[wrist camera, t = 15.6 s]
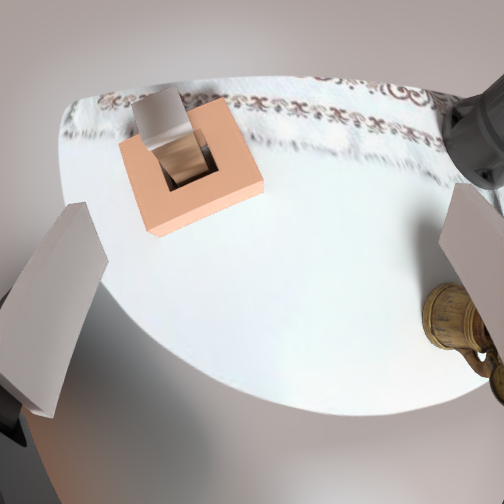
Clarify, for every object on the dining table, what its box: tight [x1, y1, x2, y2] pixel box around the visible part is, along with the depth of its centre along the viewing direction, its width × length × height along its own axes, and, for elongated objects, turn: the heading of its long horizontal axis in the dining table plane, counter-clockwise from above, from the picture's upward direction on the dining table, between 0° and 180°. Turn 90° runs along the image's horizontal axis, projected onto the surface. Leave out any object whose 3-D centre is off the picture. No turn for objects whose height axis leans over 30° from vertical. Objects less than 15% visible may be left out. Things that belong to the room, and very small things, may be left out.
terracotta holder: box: [119, 97, 263, 238], centre depth 38 cm, size 14×12×5 cm
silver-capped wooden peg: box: [131, 85, 210, 188], centre depth 32 cm, size 4×4×16 cm
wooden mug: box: [423, 283, 504, 406], centre depth 29 cm, size 9×14×18 cm, turn 178°
